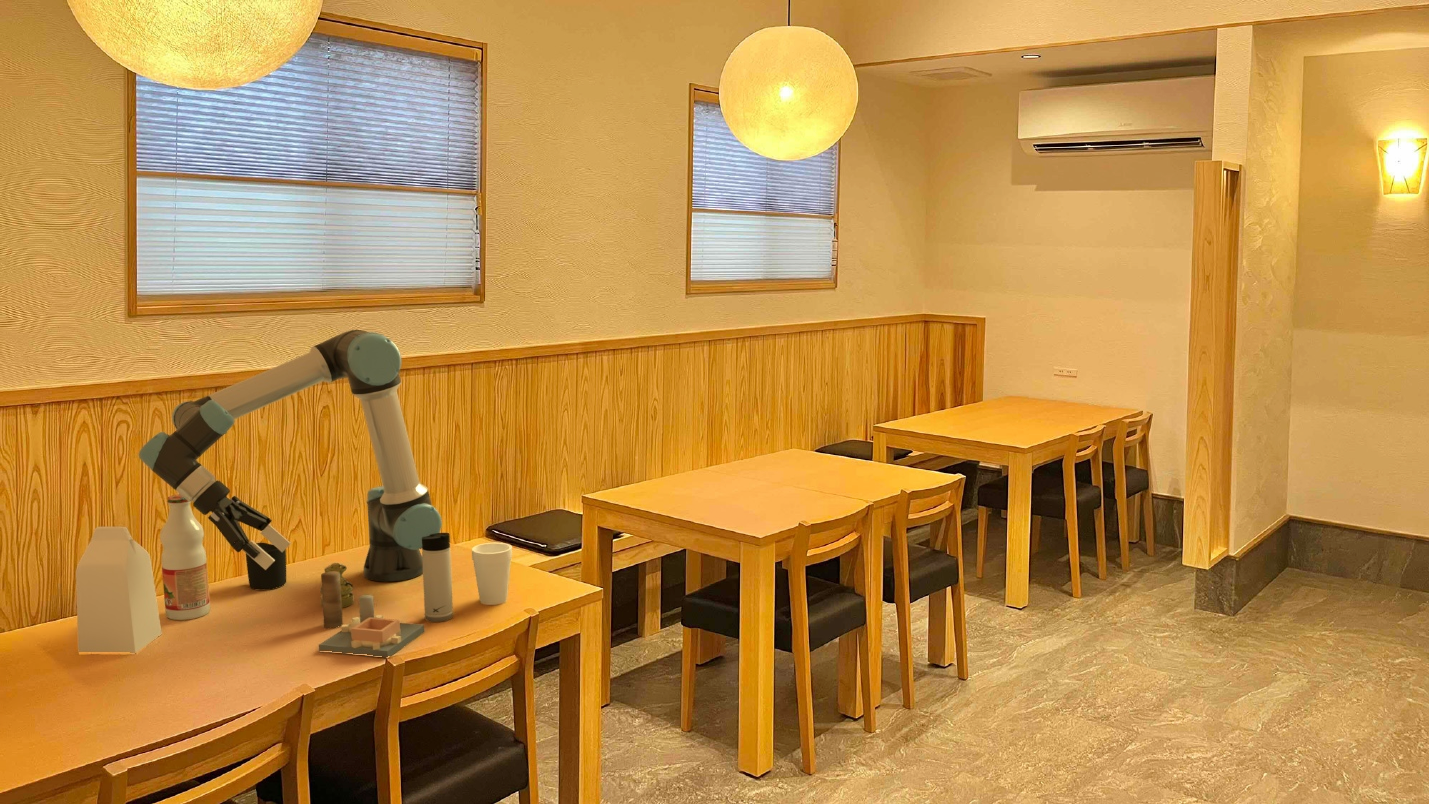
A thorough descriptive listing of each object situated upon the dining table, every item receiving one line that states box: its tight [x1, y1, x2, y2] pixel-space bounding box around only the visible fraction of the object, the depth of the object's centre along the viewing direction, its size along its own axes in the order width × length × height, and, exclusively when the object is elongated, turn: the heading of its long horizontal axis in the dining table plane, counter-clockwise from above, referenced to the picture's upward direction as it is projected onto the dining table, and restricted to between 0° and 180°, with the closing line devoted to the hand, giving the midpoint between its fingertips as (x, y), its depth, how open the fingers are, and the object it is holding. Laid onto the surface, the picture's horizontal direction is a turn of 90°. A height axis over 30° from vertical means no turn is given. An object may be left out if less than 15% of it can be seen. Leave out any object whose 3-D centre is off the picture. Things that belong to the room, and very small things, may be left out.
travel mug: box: [421, 532, 454, 623], centre depth 259 cm, size 6×7×20 cm
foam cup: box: [471, 542, 513, 606], centre depth 271 cm, size 10×9×13 cm
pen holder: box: [245, 542, 287, 590], centre depth 283 cm, size 9×9×10 cm
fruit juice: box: [159, 493, 211, 621], centre depth 261 cm, size 9×9×28 cm
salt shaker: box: [319, 562, 354, 609], centre depth 269 cm, size 7×7×10 cm
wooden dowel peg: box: [320, 571, 344, 629], centre depth 255 cm, size 4×4×12 cm
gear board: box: [318, 594, 426, 657], centre depth 245 cm, size 16×16×9 cm
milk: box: [75, 526, 163, 653], centre depth 242 cm, size 12×12×26 cm
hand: (278, 556), depth 252 cm, fingers open, 13 cm apart
